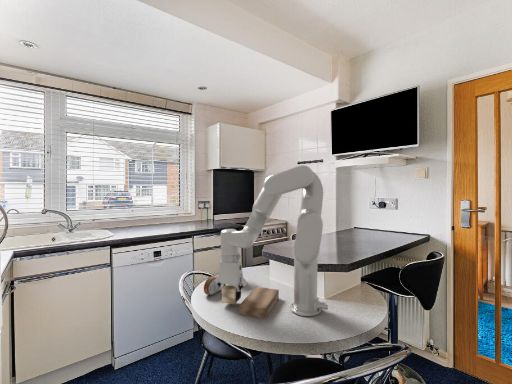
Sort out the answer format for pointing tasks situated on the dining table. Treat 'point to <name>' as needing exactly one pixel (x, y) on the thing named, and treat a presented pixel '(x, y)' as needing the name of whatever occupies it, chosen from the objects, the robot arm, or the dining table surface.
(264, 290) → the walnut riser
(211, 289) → the tin
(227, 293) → the birch cube
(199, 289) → the dining table surface
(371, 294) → the dining table surface
